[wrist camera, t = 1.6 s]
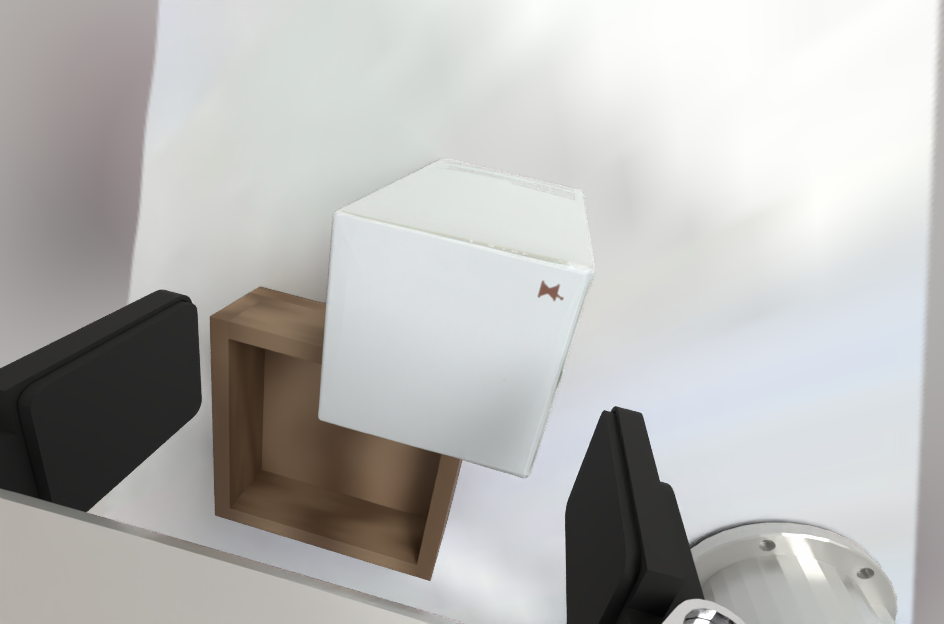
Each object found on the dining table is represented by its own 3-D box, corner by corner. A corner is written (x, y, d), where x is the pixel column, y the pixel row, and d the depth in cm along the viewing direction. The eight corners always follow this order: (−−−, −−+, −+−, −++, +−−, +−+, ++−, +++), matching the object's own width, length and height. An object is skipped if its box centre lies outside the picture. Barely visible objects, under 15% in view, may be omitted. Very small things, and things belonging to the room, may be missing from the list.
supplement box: (440, 153, 24) (327, 198, 13) (587, 188, 24) (607, 268, 12) (416, 289, 27) (309, 423, 16) (547, 323, 27) (532, 487, 15)
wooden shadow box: (490, 347, 28) (477, 389, 24) (446, 523, 34) (430, 581, 30) (259, 286, 29) (209, 316, 25) (256, 466, 35) (215, 515, 31)
